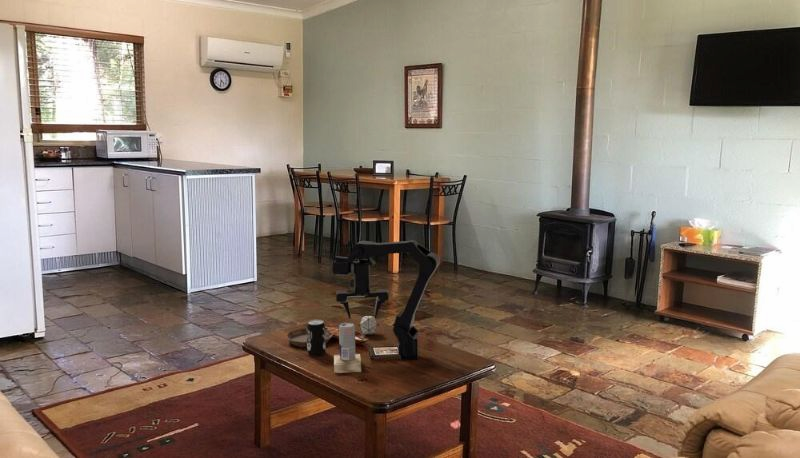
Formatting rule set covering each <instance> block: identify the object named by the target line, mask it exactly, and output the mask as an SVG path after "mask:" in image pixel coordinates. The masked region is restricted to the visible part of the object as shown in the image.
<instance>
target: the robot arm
mask: <svg viewBox="0 0 800 458" xmlns="http://www.w3.org/2000/svg"><path fill="white" fill-rule="evenodd" d="M406 253H409V255H411V257H412V258H413V260H415V262H416V263H418V265H419V268H418V272H417V273H418V274H417V275H418V276H417V279H416V281H415V283H414V286H413V289H412V291H411V293H410V296H409V298H408V300H407V303H406V304H405V308H404V311H403V312H402V311H400V312H398V314H396V316H395V320H394V323H393V324H392V327H393V328H392V332H393V334H394V335H395V337H396V338H397V340H398V343H397V355H400V356H401V357H399V360H400V361H401V360H419V355H418V354H419V353H418V352H419V351H418V347H419V345H418V342H419V341H418V338H417V337H418V336H419V332H420V331H419V330H418V329H417V328H416V327H415V326H414V323H415V318H416V317H415V315H416V312H417V309H418V307H419V304H420V302H421V300H422V297H423V295H424V293H425V292H426V291H425V290H426V288H427V285H428V284H429V281H430V279H431V277H432V276H433V274H435V272H436V270H437V269H438V267H439V266H440V263H441V259H440V256H439V255H438V254H437V253H436V252H431V251H430V250H429V249H427V248H426V246H423V245H421V244H420V243H419V242H417V241H416V240H414V239H411V240H404V241H403V240H402V241H388V242H375V241H369V240H360V241H359V242H357V243H355V244H354V245H352V248H351V253H350V254H349V255H348V256H339V255H336V256H335V257H334V261H333V265H332V267H331V268H332V274H333V275H334V276H346V277H347V276H351V274H353V279H349V288H350V289H353V292H348V290H344V289H343V290H341V289H340V290H337V291H336V293H335V294H336V296H335V297H336V298H335V301H336V302H337V303H339V304H340V305H343V307H344V309H345V310H346V311H345V312H346V314H347V316H348V319H349V320H351V310H350V304H349V299H360V298H361V299H363V298H365V299H366V298H369V299H370V298H375V307H374V314H375V316H374V317H375V319H376V318H377V316H378V313H379V310H380V308H381V306H382V304H384V303H386V301H388V300H389V299H390V298H389V297H390V295H389V291H388V290H387V289H386V288H381V289H380V288H379V289H378V288H377V289H376V291H371V266H374V265H376V263H377V262H376V261H375V260H374V259H373V258H372V257H374V256H378V255H391V254H406ZM356 260H357V261H356Z"/></svg>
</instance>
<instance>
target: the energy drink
mask: <svg viewBox="0 0 800 458" xmlns="http://www.w3.org/2000/svg"><path fill="white" fill-rule="evenodd" d="M338 334H339V335H338V338H339V339H338V341H339V342H338V343H339V345H338V346H339V355H340V359H341V360H342V361H352V360H354V359H355V354H356V327H355V324H354V323H353V322H343V323H340V324H339V327H338Z"/></svg>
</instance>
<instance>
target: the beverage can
mask: <svg viewBox="0 0 800 458" xmlns="http://www.w3.org/2000/svg"><path fill="white" fill-rule="evenodd" d="M306 328H307V347H306V348H307V349H306V350H307V351H306V352H307V354H308V355H309V356H311V357H321V356H323V355H324V354H325V353H326V343H325V329H326V325H325V323H324V320H322V319H312V320H311V319H310V320H308V321H307V325H306Z"/></svg>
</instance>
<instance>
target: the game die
mask: <svg viewBox="0 0 800 458" xmlns="http://www.w3.org/2000/svg"><path fill="white" fill-rule="evenodd" d="M357 326H358V327H360V330H361V333H362V335H363V336H364V335H374V336H376V331H377V327H379V326H380V323H378V322H377V320H376V318H375V313H373V315H363V314H361V320H360V323H359V324H357ZM362 335H361V336H362Z"/></svg>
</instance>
